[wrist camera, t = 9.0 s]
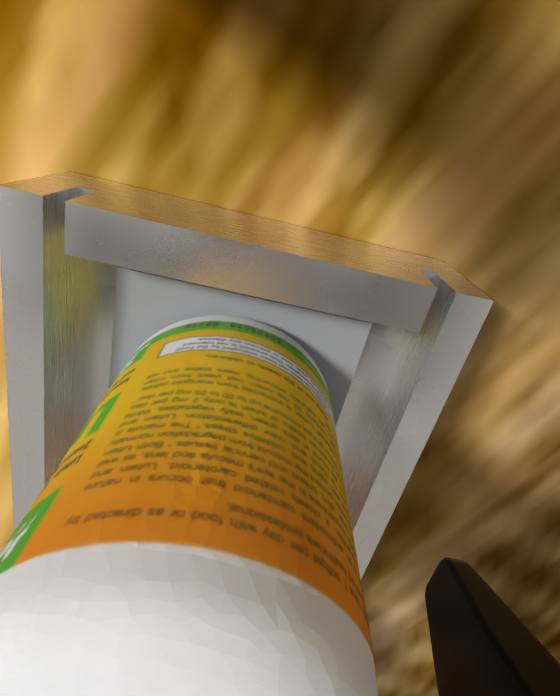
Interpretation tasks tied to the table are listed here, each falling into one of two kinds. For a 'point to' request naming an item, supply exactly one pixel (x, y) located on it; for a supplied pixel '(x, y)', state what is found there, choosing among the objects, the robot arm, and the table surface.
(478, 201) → the table surface
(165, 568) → the supplement bottle
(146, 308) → the grey tray
